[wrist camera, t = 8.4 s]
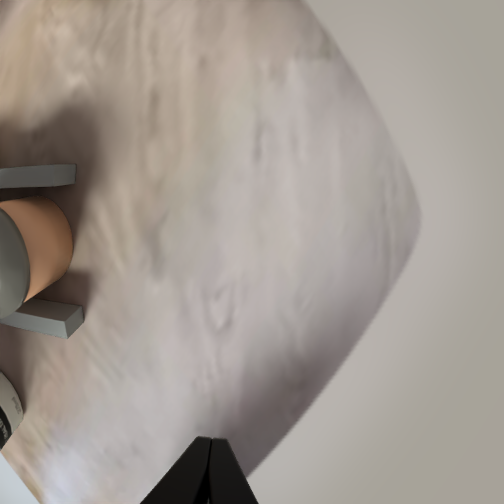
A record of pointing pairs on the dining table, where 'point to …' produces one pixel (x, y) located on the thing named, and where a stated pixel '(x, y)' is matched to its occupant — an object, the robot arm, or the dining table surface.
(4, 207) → the jar terracotta
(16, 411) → the supplement can
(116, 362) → the dining table surface
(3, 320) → the lane
